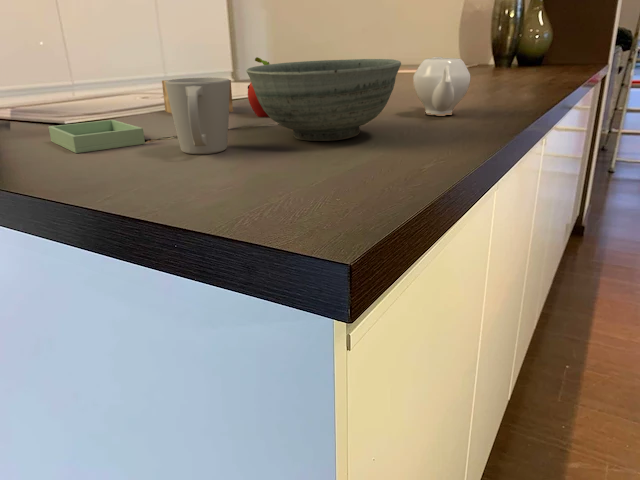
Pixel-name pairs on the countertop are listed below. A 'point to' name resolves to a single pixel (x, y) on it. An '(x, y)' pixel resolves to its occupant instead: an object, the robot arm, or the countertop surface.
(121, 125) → the tray
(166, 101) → the holder
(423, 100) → the teapot
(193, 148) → the cup
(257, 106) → the red bell pepper
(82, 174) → the countertop surface
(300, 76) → the bowl
